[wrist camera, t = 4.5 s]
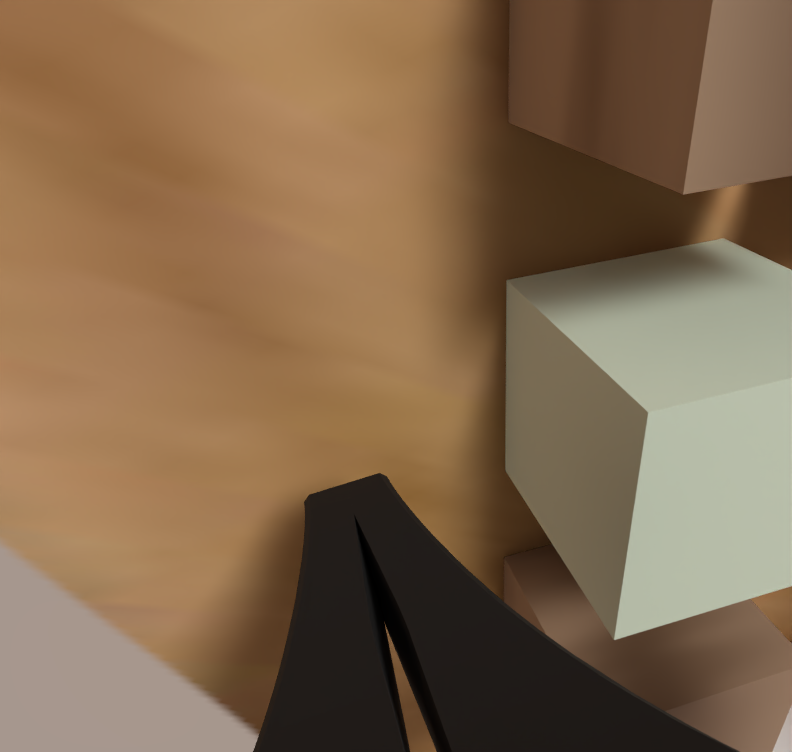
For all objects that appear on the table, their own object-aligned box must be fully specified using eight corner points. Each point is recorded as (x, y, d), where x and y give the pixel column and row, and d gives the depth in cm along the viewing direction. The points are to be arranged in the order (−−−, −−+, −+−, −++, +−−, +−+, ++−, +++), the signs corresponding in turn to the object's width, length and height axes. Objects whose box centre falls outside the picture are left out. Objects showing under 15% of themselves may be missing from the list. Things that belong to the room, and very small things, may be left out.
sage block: (721, 236, 14) (944, 340, 10) (685, 423, 17) (848, 568, 12) (504, 278, 13) (647, 412, 9) (504, 468, 16) (614, 640, 12)
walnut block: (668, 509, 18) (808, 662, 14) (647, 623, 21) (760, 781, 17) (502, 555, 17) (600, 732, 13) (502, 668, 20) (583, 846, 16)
